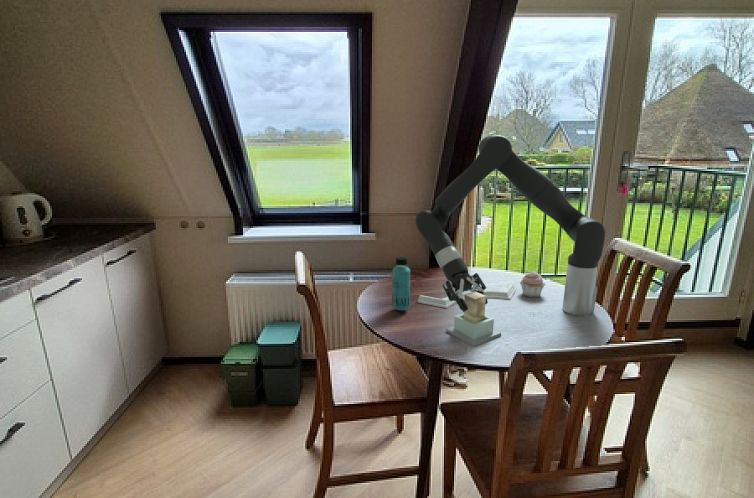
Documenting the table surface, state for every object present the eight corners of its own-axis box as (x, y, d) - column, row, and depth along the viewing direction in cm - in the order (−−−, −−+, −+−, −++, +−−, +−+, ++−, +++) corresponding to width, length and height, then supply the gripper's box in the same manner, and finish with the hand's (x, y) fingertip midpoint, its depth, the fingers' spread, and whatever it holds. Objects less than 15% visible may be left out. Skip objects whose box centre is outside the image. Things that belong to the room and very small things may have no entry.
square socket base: (472, 321, 138) (473, 306, 137) (501, 335, 129) (502, 319, 127) (446, 331, 132) (446, 315, 131) (473, 346, 122) (474, 329, 121)
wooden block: (473, 326, 133) (474, 291, 130) (483, 331, 129) (485, 295, 126) (463, 329, 131) (464, 294, 127) (473, 335, 127) (475, 299, 124)
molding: (510, 288, 169) (511, 281, 169) (528, 298, 158) (529, 291, 157) (414, 300, 159) (414, 293, 158) (425, 312, 147) (426, 304, 147)
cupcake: (534, 289, 166) (536, 265, 163) (549, 297, 157) (551, 272, 155) (513, 291, 164) (515, 267, 161) (527, 300, 155) (530, 275, 152)
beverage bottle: (398, 305, 152) (398, 253, 147) (413, 309, 149) (414, 256, 143) (388, 311, 147) (388, 258, 142) (404, 316, 143) (404, 261, 138)
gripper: (440, 261, 127) (465, 307, 121) (473, 253, 134) (498, 297, 128) (429, 272, 133) (452, 318, 127) (461, 264, 140) (484, 307, 134)
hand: (475, 307), depth 127 cm, fingers open, 8 cm apart
